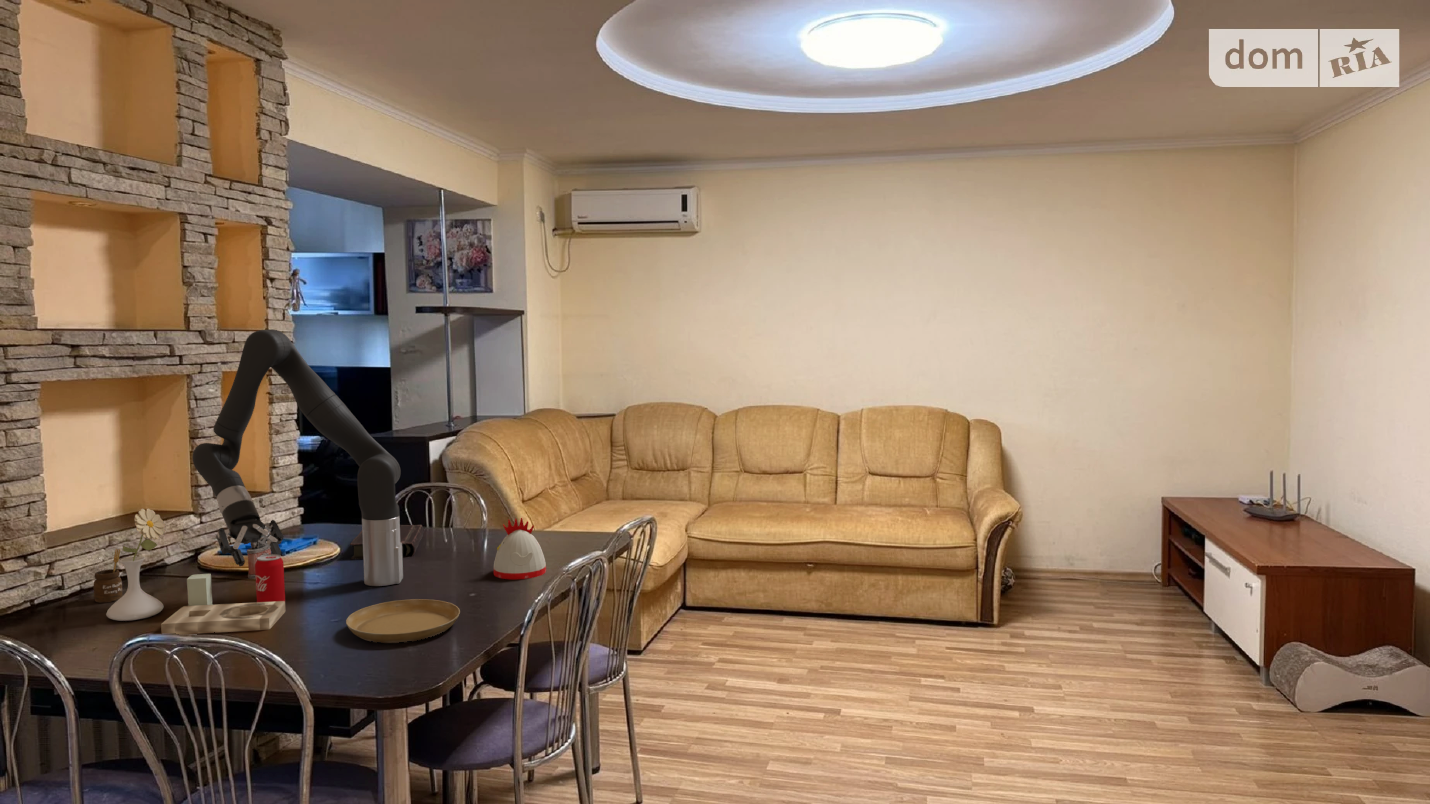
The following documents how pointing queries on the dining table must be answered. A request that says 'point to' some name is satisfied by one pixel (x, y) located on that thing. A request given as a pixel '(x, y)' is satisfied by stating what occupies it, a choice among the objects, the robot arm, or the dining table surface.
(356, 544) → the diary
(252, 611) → the socket board
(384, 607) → the plant saucer
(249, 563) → the lighter
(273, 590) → the beverage can
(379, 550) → the robot arm
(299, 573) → the dining table surface
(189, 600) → the square peg
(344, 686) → the dining table surface
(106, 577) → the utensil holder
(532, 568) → the kitchen timer
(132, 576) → the flower in vase
